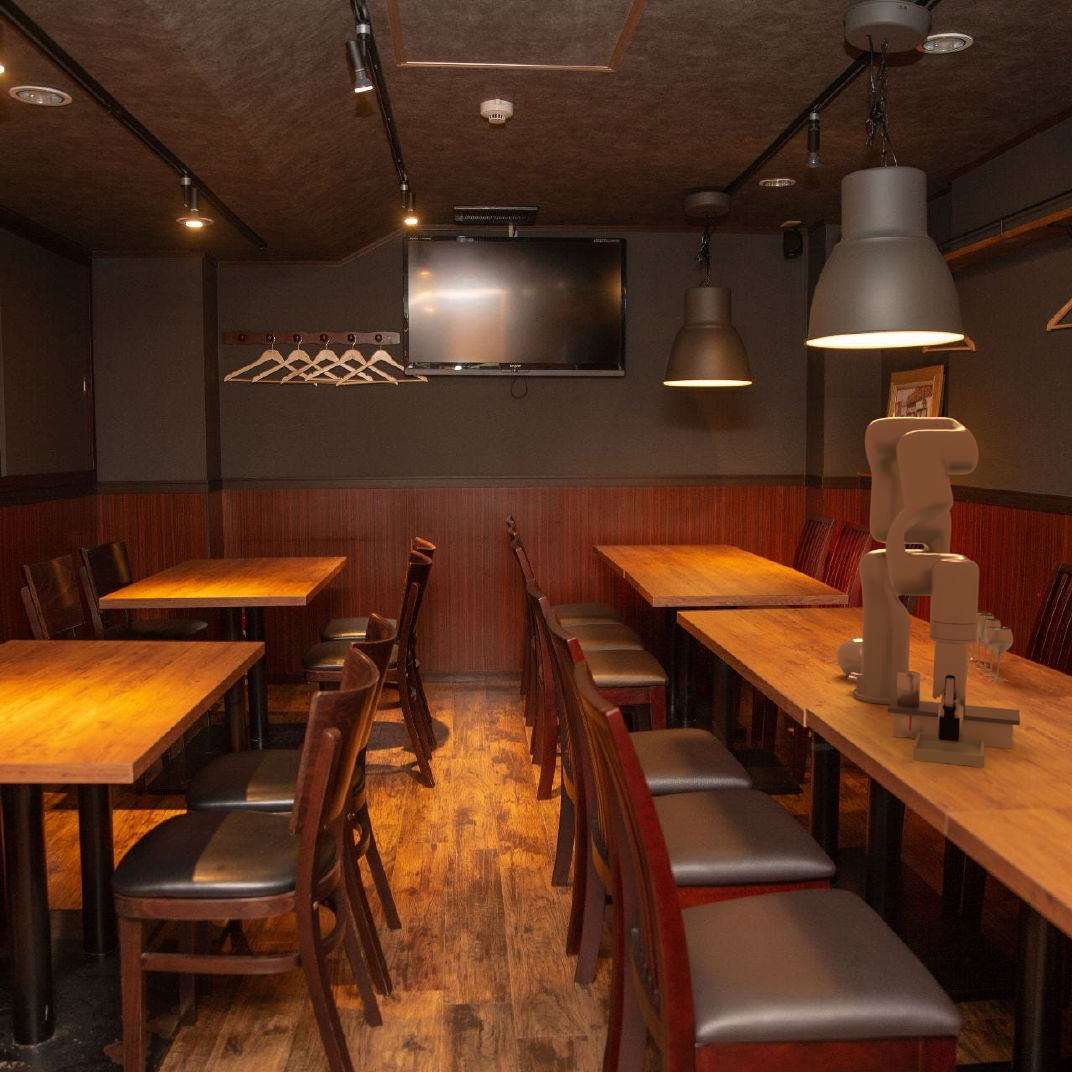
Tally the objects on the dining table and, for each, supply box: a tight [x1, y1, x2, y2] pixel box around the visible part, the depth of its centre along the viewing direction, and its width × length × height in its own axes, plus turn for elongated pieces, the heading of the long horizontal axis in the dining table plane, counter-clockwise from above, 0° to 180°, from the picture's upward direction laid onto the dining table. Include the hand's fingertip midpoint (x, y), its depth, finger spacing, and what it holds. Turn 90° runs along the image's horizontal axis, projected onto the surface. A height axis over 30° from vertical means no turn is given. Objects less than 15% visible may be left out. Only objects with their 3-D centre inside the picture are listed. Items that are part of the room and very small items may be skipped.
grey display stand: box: [886, 698, 1021, 750], centre depth 192 cm, size 22×8×5 cm, turn 66°
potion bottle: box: [835, 636, 862, 676], centre depth 243 cm, size 9×10×15 cm
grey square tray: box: [912, 733, 985, 769], centre depth 181 cm, size 11×11×2 cm
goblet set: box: [968, 610, 1014, 682], centre depth 252 cm, size 28×6×13 cm, turn 171°
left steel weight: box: [897, 670, 921, 707], centre depth 195 cm, size 4×4×6 cm
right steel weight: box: [937, 704, 963, 744], centre depth 181 cm, size 4×4×6 cm
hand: (949, 735), depth 181 cm, fingers closed on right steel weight, 4 cm apart
